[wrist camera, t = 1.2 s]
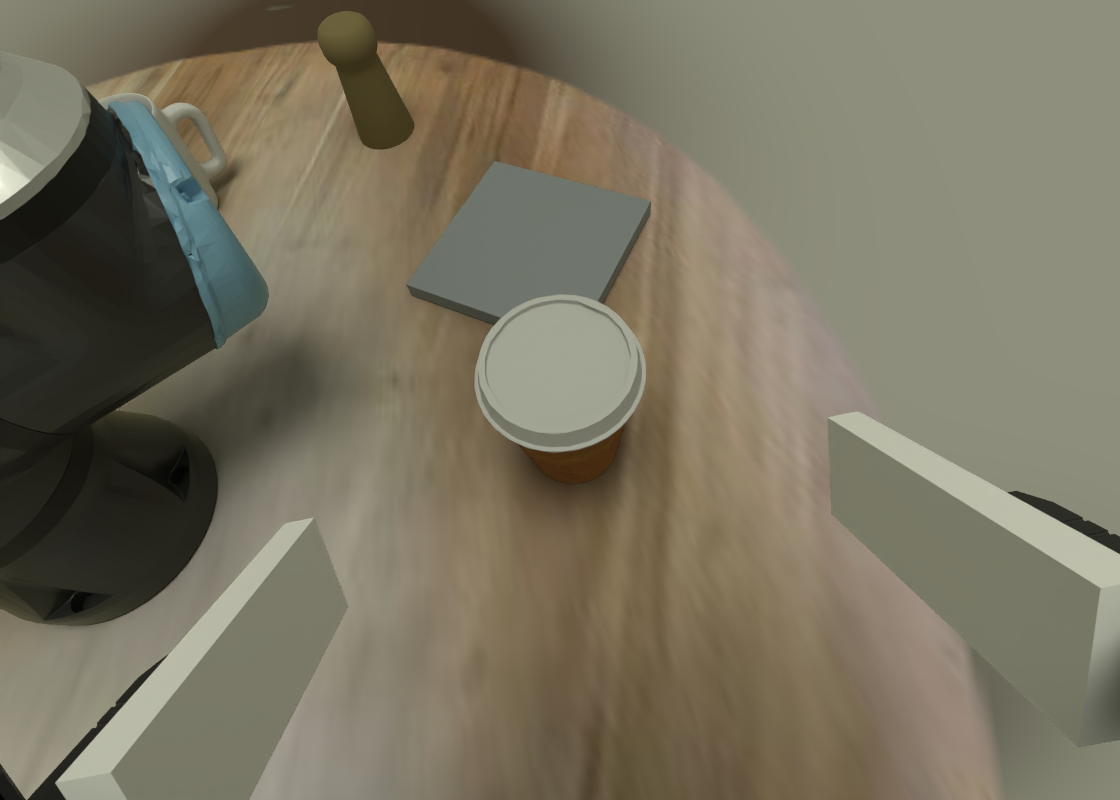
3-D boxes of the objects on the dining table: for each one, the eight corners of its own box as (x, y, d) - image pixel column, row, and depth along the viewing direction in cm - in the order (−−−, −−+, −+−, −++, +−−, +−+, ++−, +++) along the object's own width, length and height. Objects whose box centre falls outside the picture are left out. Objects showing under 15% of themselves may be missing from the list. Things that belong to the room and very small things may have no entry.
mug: (222, 155, 58) (149, 64, 49) (268, 183, 55) (200, 91, 46) (134, 222, 54) (39, 136, 45) (179, 255, 52) (87, 170, 43)
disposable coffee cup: (496, 495, 37) (448, 429, 27) (525, 378, 41) (492, 280, 31) (630, 516, 36) (635, 455, 25) (646, 393, 40) (656, 295, 29)
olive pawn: (410, 146, 55) (365, 35, 46) (355, 151, 56) (299, 43, 46) (417, 109, 58) (376, -3, 48) (364, 114, 59) (313, 4, 49)
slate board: (412, 295, 46) (406, 284, 45) (497, 173, 52) (494, 161, 51) (576, 353, 42) (575, 343, 41) (650, 214, 48) (651, 201, 46)
